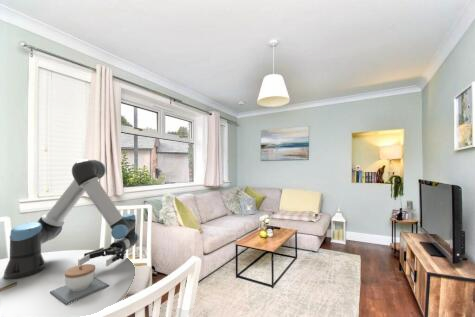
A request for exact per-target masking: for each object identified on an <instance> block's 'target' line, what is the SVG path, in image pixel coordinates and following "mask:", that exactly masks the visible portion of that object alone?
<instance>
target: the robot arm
mask: <svg viewBox="0 0 475 317" xmlns="http://www.w3.org/2000/svg"><path fill="white" fill-rule="evenodd" d="M71 167H72V168H71V174H72V177H73V181H72V182H71V183H70V184H69V186H68V187H67V188H66V189H65V190H64V191H63V193H62V195H60V197H59V198H58V200H56V202H55V204H54V205H53V206H52V207H51V209H50V210H49V211H48V212H47V213H45V214H42V215H41V217H40V218H39V219H38V220H37V221H36V222H35V221H34V222H32V221H31V222H25V223H21V224H19V225H16V226H15V227H12V229H11V230H10V235H9V260H8V261H7V262H8V263H7V264H6V267H5V270H4V274H3V277H4V278H5V279H8V280H9V279H14V280H15V279H20V278H25V277H30V276H32V275H35V274H37V273H40V272H41V271H43V270H45V269H46V262H45V259H44V257H43V255H42V245H43V244H44V243H46V242H49V241H51V240H53V239H55V238H57V236H59V235H60V234H61V232H62V230H63V226H64V225H65V222H64V220H65V218H66V217H67V216H68V215H69V213H70V212H71V211H72V209H74V207H75V205H76V204H77V203H78V202H79V201H80V199H81V198H82V196H83V195H84V194H85V193H86V195H87V196H88V197H89V199H90V200H91V201H92V203H93V205H94V206H95V207H96V209H97V210H98V212H99V213H100V215H101V217H103V219H104V220H105V222H106V223H107V225H108V226H109V228H110V229H111V232H110V233H111V237H112V238H113V239H115V241H114V242H112V243H111V244H110V245H109V246H108V247H107V248H104V247H100V248H98V249H95V250H92V251H88V252H85V253H84V254H83V257H81V258H79V259H78V260H77V264H78V265H77V266H79V265H85V263H88V262H89V261H90V260H92V259H95V258H100V257H107V256H111V257H108V259H106V260H105V261H106V263H105V266H106V267H109V266H110V265H112V264H113V263H114V262H117V261H119V260H124V258H125V256H126V255H125V254H126V253H127V250H129V249H130V248H132V247H134V246H135V245H137V243H138V242H139V237H140V236H139V235H138V233H137V232H136V226H137V225H136V224H137V223H136V221H137V219H136V215H135V214H134V213H128V214H124V215H122V214H121V213H120V212H119V210H118V208H117V207H116V205H115V203H114V202H113V201H112V199H111V198H110V196H109V195H108V194H107V192H106V190H105V189H104V188H103V186H102V185H101V183H100V182H99V180H100V179H102V178H103V177H104V176H105V175H106V166H105V164H104V163H103V162H102V161H100V160H98V159H97V160H96V159H85V158H84V159H80V160H78V161H76V162H75V163H74V164H73V165H72V166H71Z"/></svg>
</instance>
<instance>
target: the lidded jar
mask: <svg viewBox="0 0 475 317" xmlns="http://www.w3.org/2000/svg"><path fill="white" fill-rule="evenodd" d="M95 271H96V265H94V264H93V263H92V264H89V263H86V264H85V263H84V264H82V265H79V266H78V265H75V266H73V267H70V268H68V269H67V270H66V271H65V273H64V276H65V280H64V281H65V285H67V287H68V288H69V289H71V290H72V291H81V290H84V289H86V288H87V287H88V286H89V285H90V284H91V282H92V281H93V279H94V277H95V275H96V272H95Z"/></svg>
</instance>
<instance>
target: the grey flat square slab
mask: <svg viewBox="0 0 475 317" xmlns="http://www.w3.org/2000/svg"><path fill="white" fill-rule="evenodd" d="M108 287H110V284H108V283H106V282H105V281H103V280H100V279H99V278H97V277H95V276H94V279H93V281H92V282H91V284H90V285H89V286H88V287H87V288H86V289H84V290H81V291H72V290H71V289H69V288H68V287H67V285H66V284H65V285H63V286H60V287H58V288H55V289H52V290H50V291H49V293H50V294H51V295H52V296H53V297H54V298H56V299H58V300H59V302H61V303H63V304H64V305H65V306H67V304H68V305H70V304H72V303H74V301H75V302H76V300H77V301H79V300H82V299H83V297H84V298H86V297H88V296H90V295H92V294H95V293H97V292H99V291H101V290H104V289H106V288H108ZM78 299H79V300H78ZM71 302H72V303H71ZM69 303H70V304H69Z"/></svg>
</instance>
